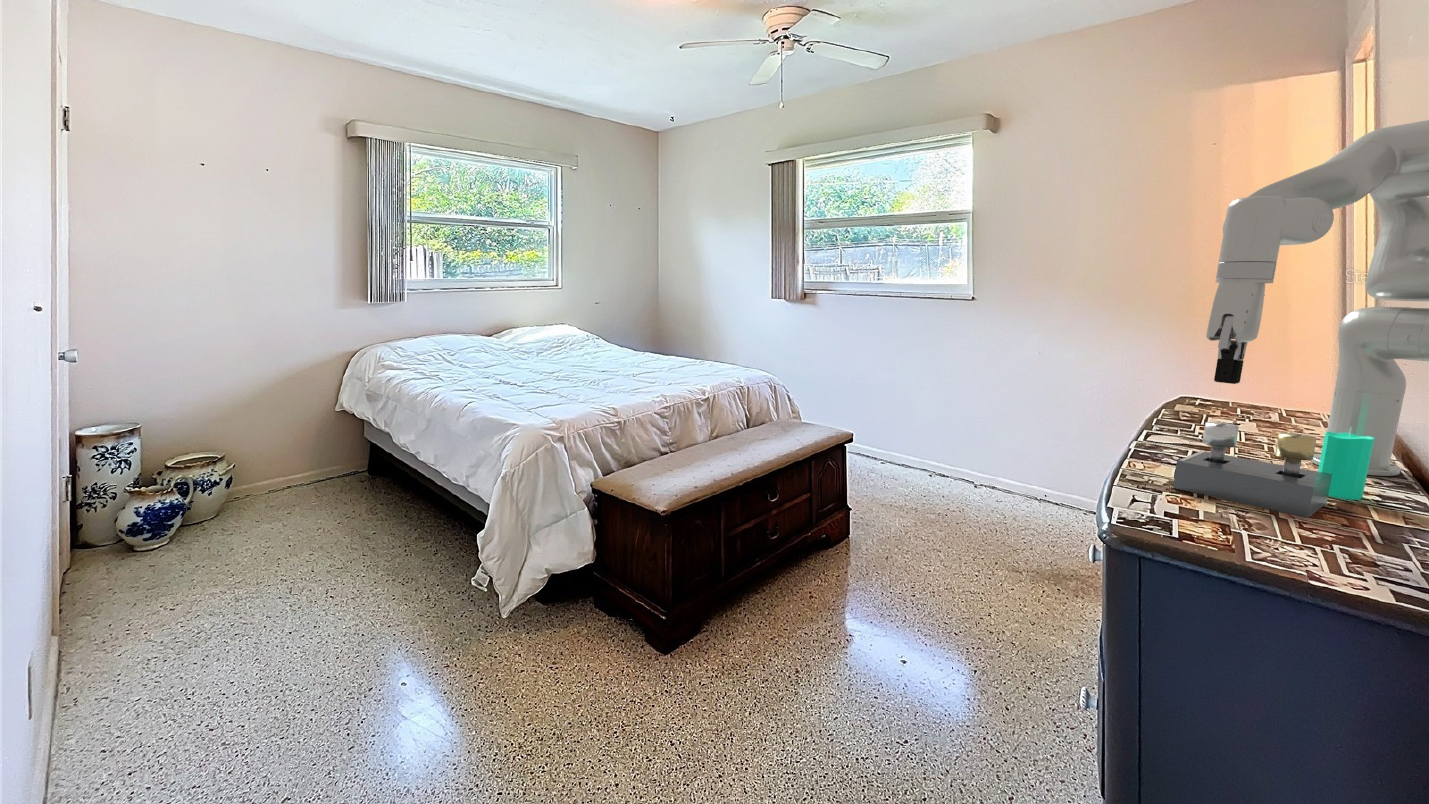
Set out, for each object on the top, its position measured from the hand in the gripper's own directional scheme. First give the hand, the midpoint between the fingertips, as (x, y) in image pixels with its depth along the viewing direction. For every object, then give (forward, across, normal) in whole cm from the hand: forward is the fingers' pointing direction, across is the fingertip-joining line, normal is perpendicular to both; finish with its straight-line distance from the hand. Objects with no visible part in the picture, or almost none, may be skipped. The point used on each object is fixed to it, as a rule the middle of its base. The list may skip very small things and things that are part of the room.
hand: (1226, 382), depth 109 cm
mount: (+19, -1, +5) cm, 20 cm away
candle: (+19, -15, +14) cm, 28 cm away
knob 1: (+15, -1, 0) cm, 15 cm away
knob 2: (+15, -1, +10) cm, 19 cm away
